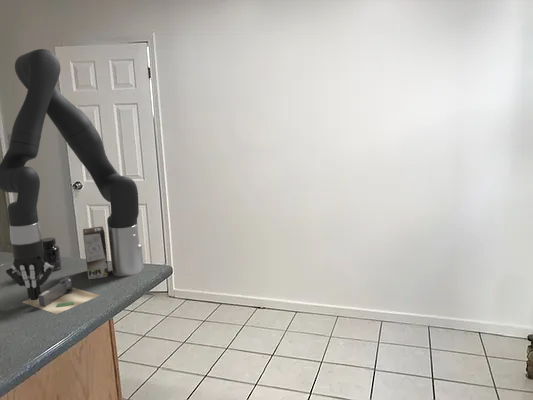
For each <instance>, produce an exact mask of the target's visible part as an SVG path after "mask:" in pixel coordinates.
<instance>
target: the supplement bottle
mask: <svg viewBox="0 0 533 400" xmlns="http://www.w3.org/2000/svg"><path fill="white" fill-rule="evenodd" d="M42 243H43V250H44V258H45V259H46V263H48V264H50V265H55V269H54V270H53V271H52V273H53V272H58V271H60V270H61V269H63V265H62V256H61V248H60V247H59V246H58V245H57V242H56V238H55V237H45V238H42ZM40 273H43V274H44V273H45V272H44V267H43V269H42V271H41V272H40Z"/></svg>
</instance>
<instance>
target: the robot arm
mask: <svg viewBox="0 0 533 400" xmlns="http://www.w3.org/2000/svg"><path fill="white" fill-rule="evenodd" d="M14 70H15V74H16V76H17V77H18V79H19V81H20V82H21V83H22V85H23V86H24V87H25V89H27V92H26V95H25V98H24V101H23V103H22V106H21V107H20V108H19V109H20V110H19V111H18V113H17V116H16V117H15V120H14V122H13V125H12V130H11V135H10V139H9V146H8V149H7V151H6V153H5V154H4V156H3V158H2V160H1V162H0V190H1V191H2V192H5V193H13V194H14V193H15V194H16V193H17V198H16V200H15V201H13V202H10V203H9V204H8V206H7V216H8V222H9V237H10V238H9V239H10V244H11V251H12V257H13V262H12V265H11V266H10V267H9V268H7V269H6V271H5V273H6V274H7V275H8V276H9V277H10V278H11V279H12V280H13V281H14V282H15V283H16V284H17V285H18V286H20V287H25V288H26V290H27V296H28V298H29V299H31V300H37V299H38V298H39V297H38V295H40V294H41V293H42V292H41V286H42V285H44V284H45V282H47V280H48V278H49V277H50V276H51V275H52V273H53V272H52V271H53V270H54V269H55V265H50V264H48V263H46V259H45V258H44V250H43V243H42V239H43V237H42V229H41V226H40V222H39V214H38V209H37V207H38V201H39V193H40V188H41V180H40V176H39V174H38V172H37V171H36V170H35V169H34V168H33V167H31V166H25V165H26V163H27V162H28V161H31V160H33V159H36V158H37V156H38V153H39V151H40V150H39V149H40V143H41V138H42V133H43V127H44V123H45V119H46V115H47V116H48V117H49V119H50V120H51V123H53V125H54V126H55V127H56V129H57V130H58V132H59V133H60V135H61V137H62V138H63V139H64V141H65V142H66V144H67V145H68V147H69V148H70V149H71V150H72V152H73V153H74V154H75V156H76V157H77V159H78V160H79V162H80V163H81V164H82V165H83V167H84V168H85V169H86V170H87V172H88V173H89V175H90V176H91V178H92V180H93V182H94V184H95V186H96V187H97V189H98V192H100V194H101V196H102V198H103V199H104V200H105V201H106V202H108V203H110V215H109V216H108V217H107V219H106V224H107V231H108V241H109V251H110V253H109V254H110V263H111V271H112V275H114V276H115V277H116V276H117V277H128V276H133V275H136V274H139V273H140V272H141V271H142V270H144V254H143V245H141V244H140V238H139V237H140V236H139V226H138V218H139V212H140V210H139V209H140V208H139V207H140V205H139V192H138V187H137V184H136V182H135V181H134V180H133V179H132V178H130V177H129V176H124V175H121V174H119V172H118V171H117V170H116V169H115V167H114V166H113V164H112V163H111V162H110V161H109V159H108V157H107V154H106V150H105V146H104V143H103V140H102V138H101V135H100V134H99V132H98V130H97V129H96V127H95V125H94V124H93V123H92V121H91V120H90V118H89V117H88V116H87V115H86V113H84V112H83V111H82V110H81V109H80V108H79V107H77V106H76V105H75V104H74V103H72V102H71V101H70V100H68V99H67V98H66V97H65V96H64V95H63V94H62V92H60V90H59V88H58V87H57V83H58V81H59V77H60V74H61V63H60V60H59V58H58V57H57V55H56V54H55V53H53V51H50V50H49V49H46V48H45V49H44V48H38V49H34V50H32V51H29V52H27V53H24V54H22V55H20V56H18V57H17V58H16V60H15V62H14ZM43 267H44V272H45V273H44V272H43V275H42V276H41V273H42V272H41V271H42V269H43Z"/></svg>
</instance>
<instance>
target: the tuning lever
mask: <svg viewBox="0 0 533 400" xmlns="http://www.w3.org/2000/svg"><path fill="white" fill-rule="evenodd" d="M72 287H73V283H72V277H68V276H67V277H63V278H60V280H59V283H57V284H56V285H54V286H52V287H50V288H48V289H47V290H45V291H43V292H41V294H40V295H38V297H39V304H40V306H46V305H47V304H49V303H50V302H52V301H54V300H55V299H57V298H58V297H60V296H62V295H63V294H65V293H66V292H70V291H72Z"/></svg>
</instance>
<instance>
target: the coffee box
mask: <svg viewBox="0 0 533 400" xmlns="http://www.w3.org/2000/svg"><path fill="white" fill-rule="evenodd" d="M82 234H83V244H84V253H85V262H86V271H87V277H88V278H87V279H88V280H92V279H93V280H95V279H100V278H106V277H109V275H110V274H109V265H108V263H109V262H108V253H107V244H106V233H105V230H104V226H94V227H89V228H88V227H87V228H83V229H82Z"/></svg>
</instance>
